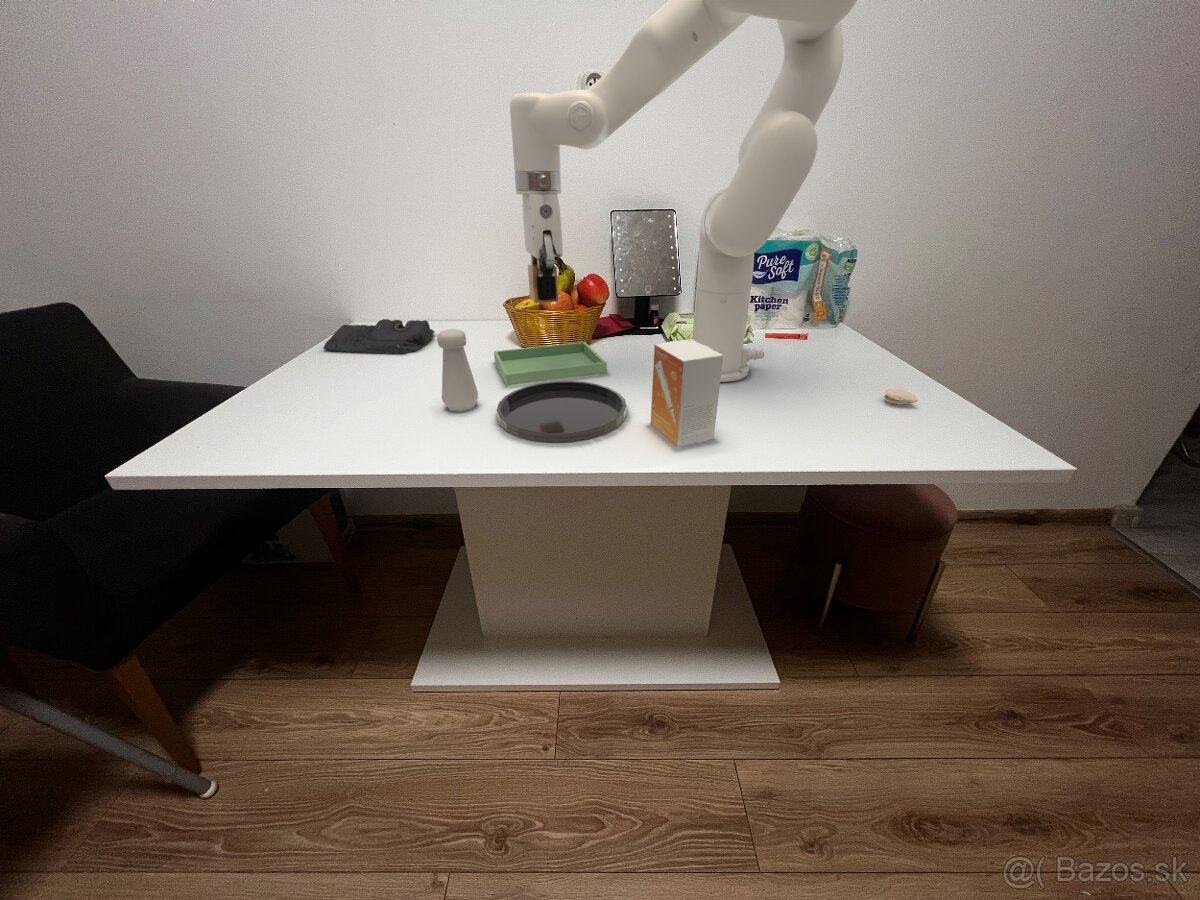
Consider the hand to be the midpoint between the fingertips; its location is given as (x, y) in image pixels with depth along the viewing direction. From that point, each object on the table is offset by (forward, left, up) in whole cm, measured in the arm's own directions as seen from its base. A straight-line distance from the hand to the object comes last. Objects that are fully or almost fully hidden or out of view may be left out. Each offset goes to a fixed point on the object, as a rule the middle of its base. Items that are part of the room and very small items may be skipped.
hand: (544, 295), depth 93 cm
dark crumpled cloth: (+32, -30, -14) cm, 46 cm away
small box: (-12, +34, -14) cm, 38 cm away
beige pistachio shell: (-51, +36, -14) cm, 64 cm away
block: (0, 0, -1) cm, 1 cm away
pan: (+3, +22, -14) cm, 26 cm away
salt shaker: (+18, +14, -14) cm, 27 cm away
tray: (0, 0, -14) cm, 14 cm away
